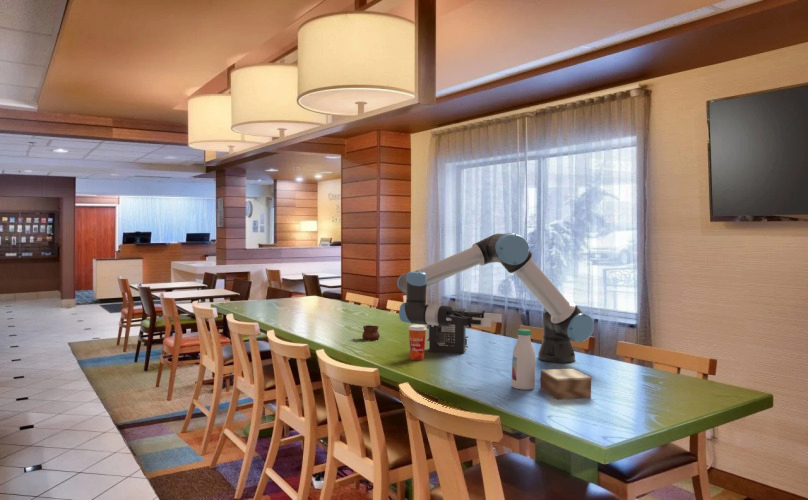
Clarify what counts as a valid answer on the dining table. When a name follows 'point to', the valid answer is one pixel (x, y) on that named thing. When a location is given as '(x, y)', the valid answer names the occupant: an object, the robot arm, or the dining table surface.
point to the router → (448, 337)
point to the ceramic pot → (370, 333)
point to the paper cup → (417, 341)
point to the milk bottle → (523, 362)
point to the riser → (565, 383)
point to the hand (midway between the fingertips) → (496, 320)
